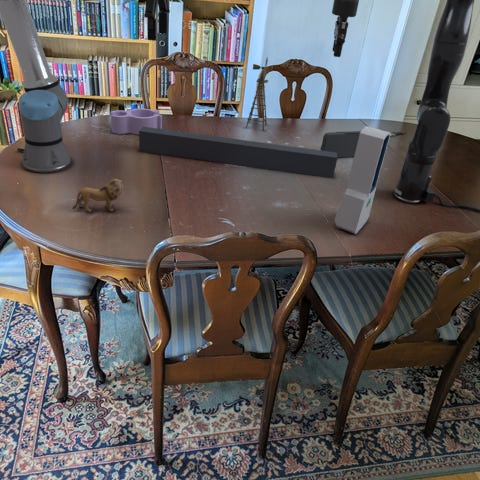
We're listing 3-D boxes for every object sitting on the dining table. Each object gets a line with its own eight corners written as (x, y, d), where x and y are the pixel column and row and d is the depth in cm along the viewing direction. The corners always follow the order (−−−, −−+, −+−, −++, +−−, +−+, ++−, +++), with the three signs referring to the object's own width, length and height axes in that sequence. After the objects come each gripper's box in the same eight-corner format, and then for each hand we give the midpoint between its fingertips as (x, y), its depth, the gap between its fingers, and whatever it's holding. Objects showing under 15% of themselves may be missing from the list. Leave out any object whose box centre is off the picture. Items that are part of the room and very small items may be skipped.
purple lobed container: (113, 135, 186) (112, 118, 182) (110, 125, 196) (109, 108, 192) (163, 134, 192) (163, 118, 189) (157, 124, 202) (157, 108, 198)
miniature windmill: (263, 130, 207) (272, 60, 191) (245, 127, 208) (252, 57, 192) (266, 124, 215) (275, 56, 199) (248, 121, 216) (256, 53, 200)
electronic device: (355, 236, 138) (381, 139, 122) (331, 227, 141) (354, 131, 125) (368, 219, 147) (394, 127, 131) (346, 211, 150) (369, 121, 134)
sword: (401, 131, 224) (402, 128, 223) (406, 133, 222) (407, 131, 221) (358, 142, 208) (358, 140, 207) (363, 145, 206) (363, 142, 205)
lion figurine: (122, 202, 142) (121, 175, 137) (125, 210, 138) (124, 183, 133) (71, 206, 137) (68, 178, 132) (73, 215, 133) (69, 187, 128)
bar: (139, 151, 176) (138, 130, 171) (143, 146, 180) (143, 126, 176) (333, 178, 172) (337, 157, 167) (332, 172, 176) (336, 152, 172)
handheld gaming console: (367, 153, 195) (373, 130, 190) (371, 156, 193) (377, 132, 188) (318, 155, 188) (323, 131, 183) (321, 158, 186) (326, 134, 181)
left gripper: (158, -35, 133) (158, 44, 145) (178, -37, 154) (177, 32, 166) (132, -38, 134) (134, 41, 145) (156, -40, 155) (156, 29, 166)
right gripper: (361, 2, 137) (349, 60, 145) (357, -3, 149) (346, 51, 157) (335, -1, 137) (325, 57, 146) (333, -5, 149) (324, 48, 158)
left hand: (157, 36), depth 156 cm, fingers open, 13 cm apart
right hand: (336, 54), depth 152 cm, fingers open, 8 cm apart
